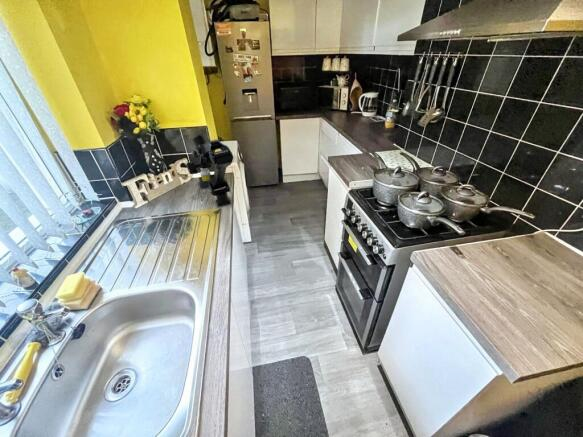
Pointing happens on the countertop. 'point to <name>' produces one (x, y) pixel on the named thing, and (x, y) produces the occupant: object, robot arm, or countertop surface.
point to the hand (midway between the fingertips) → (204, 170)
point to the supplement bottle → (205, 174)
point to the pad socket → (204, 183)
